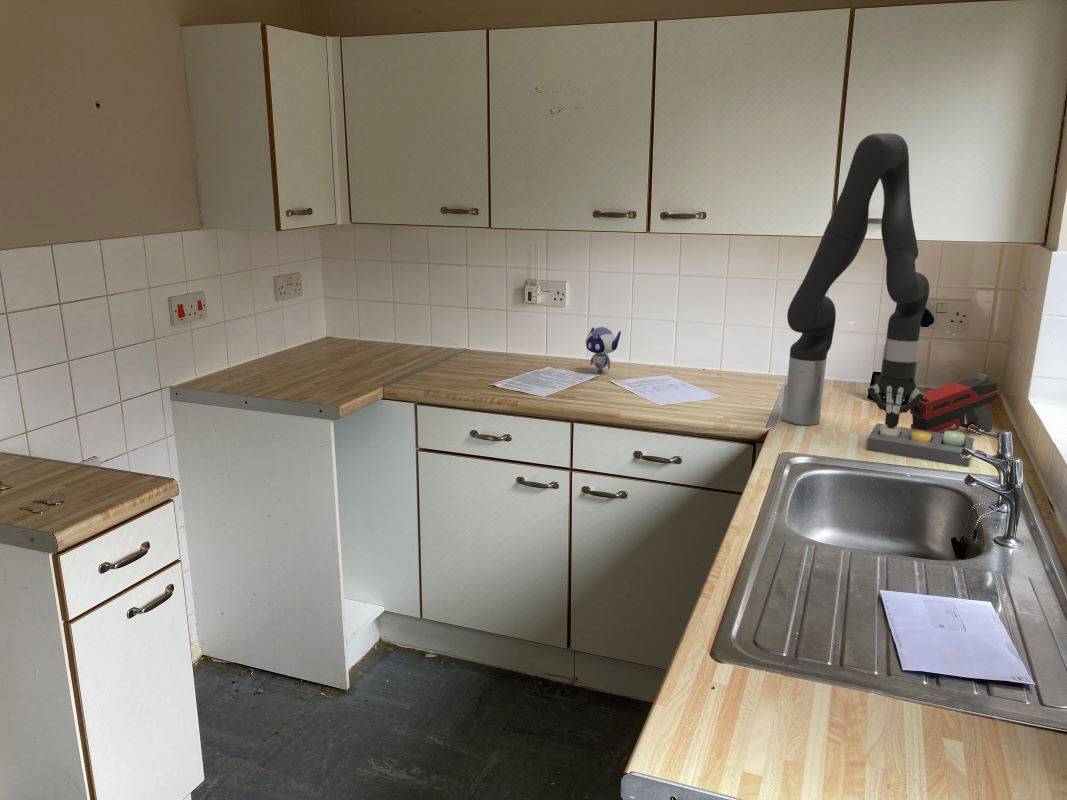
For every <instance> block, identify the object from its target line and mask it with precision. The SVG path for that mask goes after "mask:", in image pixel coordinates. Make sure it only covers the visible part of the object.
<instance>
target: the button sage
mask: <svg viewBox="0 0 1067 800" xmlns="http://www.w3.org/2000/svg"><path fill="white" fill-rule="evenodd" d="M965 437H966V434H965V433H963V432H962V431H961V432H960V431H957V430H955V431H945V432H944V438H943V444H944V445H950V446H956V447H963V445H964V439H965Z"/></svg>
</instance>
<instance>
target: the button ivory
mask: <svg viewBox="0 0 1067 800" xmlns="http://www.w3.org/2000/svg"><path fill="white" fill-rule="evenodd" d="M887 426H888V425H881V429H880V434H881V435H887V436H893V437H899V435H900V427H901V426H899V427H898V425H897V426H895V428H894V429H893V428H887Z"/></svg>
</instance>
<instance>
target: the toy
mask: <svg viewBox="0 0 1067 800" xmlns="http://www.w3.org/2000/svg"><path fill="white" fill-rule="evenodd" d="M588 333H589V334H588V335H587V337H586V339H585V346H586V350H588V351H590V352H591V353H594V354H593V355H592V356H591V359H590V366H591V367H592V366H593V364H594V366H595V367H596V368H597V372H598V373H599V374H602V373H603V372H604V370H603V369H605V367H607V369H608V370H610V369H611V364H612V363H611V362H612V361H611V359H610V356H609V355H608V354H611V353H613V352H615V351H616V350H617V349H618V346H619V342H620V338H621V333H622V331H621V330H620V331H618V333H617V334H616V336H615V334H614V333H613V332H612V331H611V330H610V329H609V328H607V327H604V326H599V327H596V328H595V327H594V326H593V327H591V330H590V331H589V332H588Z"/></svg>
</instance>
